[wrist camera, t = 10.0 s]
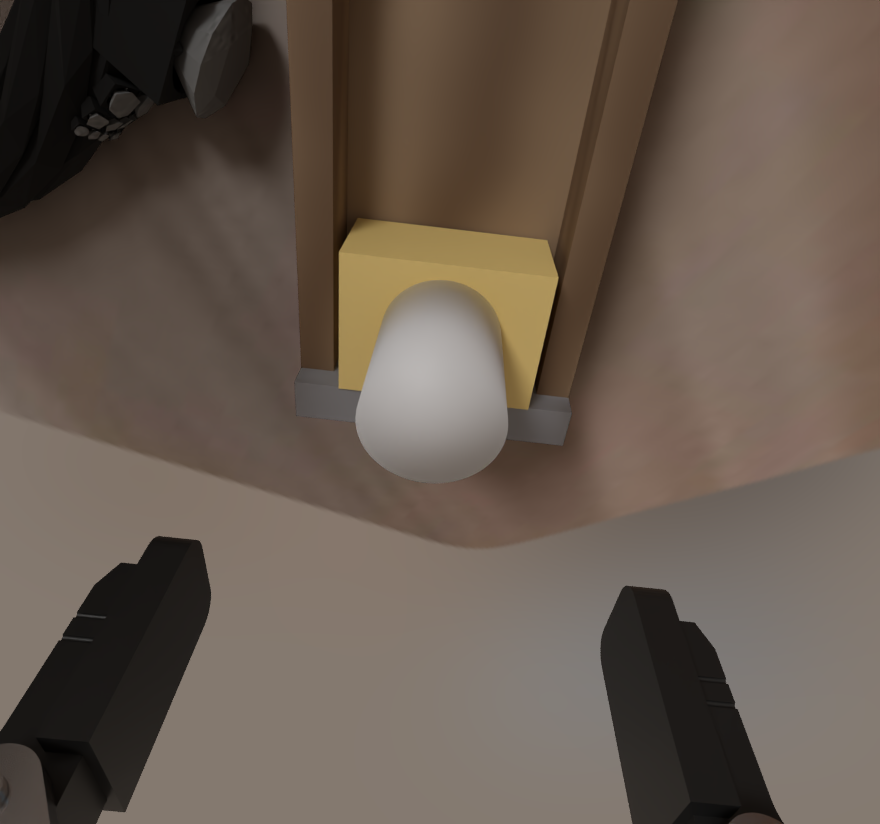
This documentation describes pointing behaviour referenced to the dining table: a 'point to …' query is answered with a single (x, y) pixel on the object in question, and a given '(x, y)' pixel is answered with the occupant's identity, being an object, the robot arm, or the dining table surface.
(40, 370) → the dining table surface
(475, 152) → the wooden tray
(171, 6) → the cable lock
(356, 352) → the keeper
